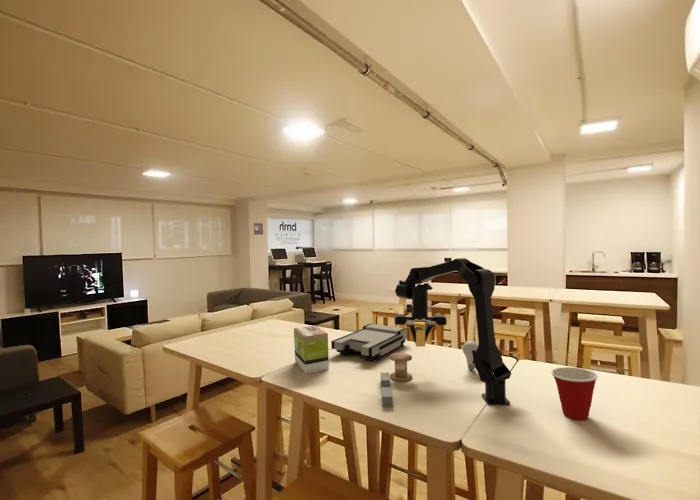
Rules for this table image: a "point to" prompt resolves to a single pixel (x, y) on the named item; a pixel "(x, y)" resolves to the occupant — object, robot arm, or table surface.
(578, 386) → the plastic cup
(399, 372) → the bobbin
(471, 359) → the lightbulb
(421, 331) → the tab block
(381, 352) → the game console
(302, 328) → the tea box
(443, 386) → the table surface
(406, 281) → the robot arm
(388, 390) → the grey square bar
